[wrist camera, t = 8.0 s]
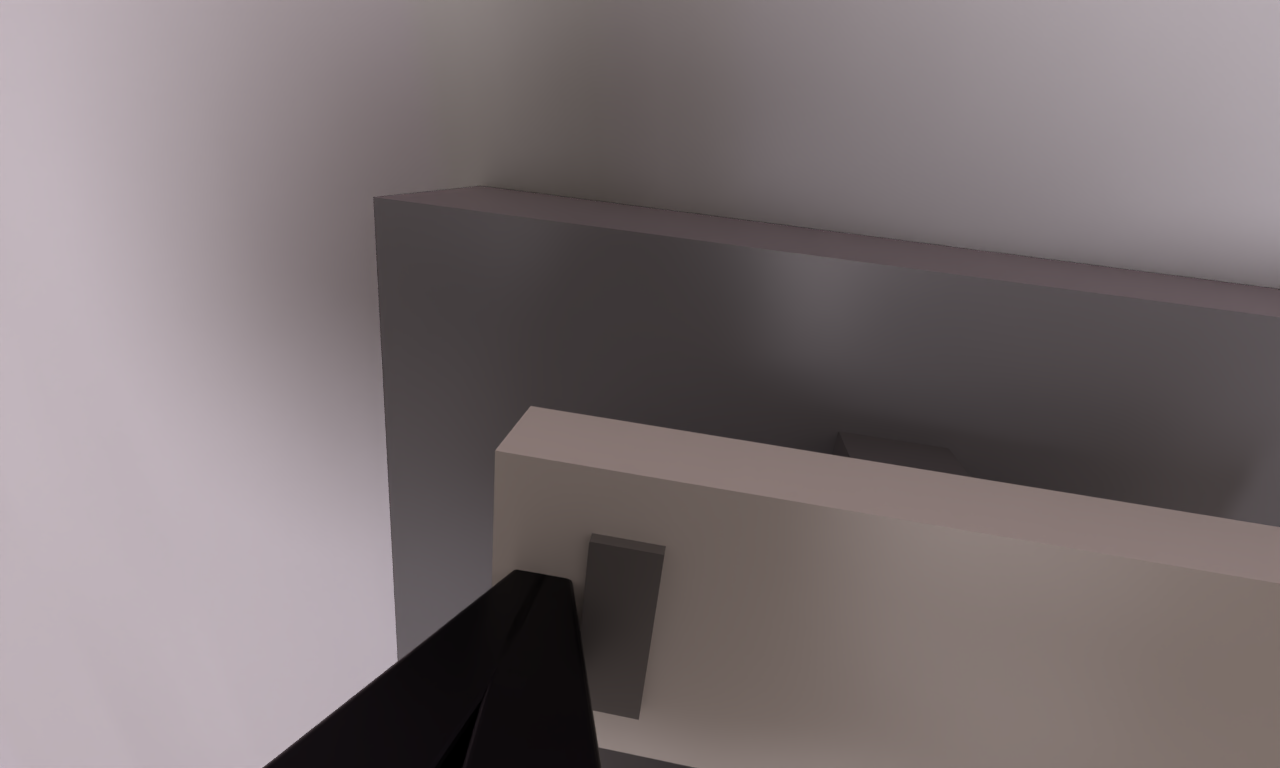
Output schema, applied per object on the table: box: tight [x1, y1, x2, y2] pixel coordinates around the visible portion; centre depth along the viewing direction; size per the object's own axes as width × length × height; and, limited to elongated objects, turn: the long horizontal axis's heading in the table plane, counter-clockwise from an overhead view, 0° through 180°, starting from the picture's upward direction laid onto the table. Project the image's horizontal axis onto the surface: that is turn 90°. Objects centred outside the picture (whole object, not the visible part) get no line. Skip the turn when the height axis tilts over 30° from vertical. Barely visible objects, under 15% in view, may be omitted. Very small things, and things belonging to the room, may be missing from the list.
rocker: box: [492, 406, 1280, 768], centre depth 7 cm, size 10×4×1 cm, turn 83°
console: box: [373, 186, 1280, 768], centre depth 13 cm, size 18×22×5 cm
